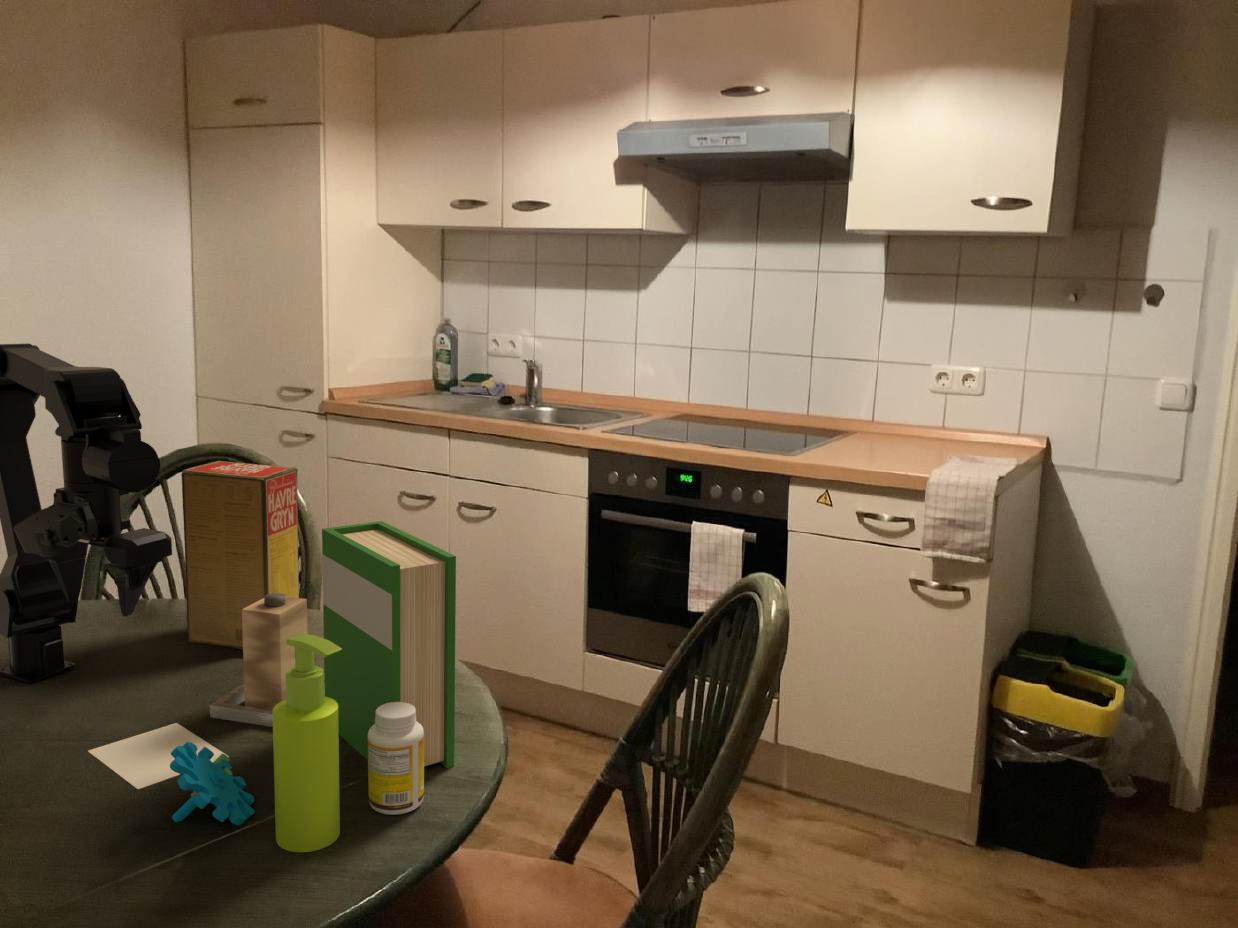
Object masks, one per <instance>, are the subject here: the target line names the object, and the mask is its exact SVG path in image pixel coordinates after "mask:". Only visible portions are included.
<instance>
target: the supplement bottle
mask: <svg viewBox="0 0 1238 928" xmlns="http://www.w3.org/2000/svg"><path fill="white" fill-rule="evenodd" d="M367 772H368V773H367V775H368V776H367V777H368V780H367V781H368V782H367V783H368V803H369V805H370V806H371V809H373V810H374V811H376V812H377V813H380V814H384V815H389V816H390V815H392V816H393V815H396V816H397V815H402V814H407V813H409V812H412V811H414V810H416V809H417V808H418V807H419V806H420V805H421V804H422V803H423V801H424V798H425V766H424V730H423V727H422V726H421V724H420V723H418V722H417V721H416V709H415V707H414V706H413V705H411V704H409V703H405V702H391V703H386V704H383V705H381V706H379V707H378V708H377V709H376V714H375V724H374V725H373V726H372V727H371V728H370V729H369V731H368V760H367Z"/></svg>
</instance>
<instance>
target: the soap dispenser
mask: <svg viewBox="0 0 1238 928" xmlns="http://www.w3.org/2000/svg"><path fill="white" fill-rule="evenodd" d="M286 645H290V646H294V647H295V667H293V668H292V669H290V670H288V671H287V673H286V700H283V701H281V702H280V703H278V704H277V705H276V706H275V707H274V708H273V727H272V742H273V743H272V745H273V746H272V747H273V750H272V751H273V780H274V781H273V782H274V783H273V785H274V813H275V814H274V816H275V817H274V818H275V820H274V823H275V842H276V844H277V845H278V846H279V847H280V848H281V849H283V850H284V851H288V852H292V853H311V852H316V851H318V850H322V849H324V848H327V847H328V846H330V845H333V844H334V843H335V842H336V841H337V840H338V838H339V837H340V833H341V821H340V819H341V815H340V814H341V813H340V812H341V811H340V807H341V806H340V805H341V804H340V803H341V802H340V800H341V799H340V752H339V751H340V748H339V747H340V744H339V743H340V738H339V736H340V735H339V727H338V703H337V702H336V701H335V700H334V699H332V698H329V697H326V696H324V668H322V667H320V666H318V665H315V654H316V655H318V656H319V657H321V658H323V659H324V658H325V657H328V656H331V655H333V654H336V653H338V652H340V651H341V650H342V649H341V648H340V647H339V646H337V645H336V644H334V643H332V642H331V641H329V640H327V639H324V637H322V636H321V637H320V636H318V635H313V634H303V633H301V634H299V635H296V636H293V637H290V638H287V639H286Z"/></svg>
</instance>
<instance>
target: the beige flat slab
mask: <svg viewBox="0 0 1238 928" xmlns="http://www.w3.org/2000/svg"><path fill="white" fill-rule="evenodd" d="M187 742H190V743H193V744H195V745H196V746H197V748H198V750H197V751H196V753H197V755H198V753H199V752H200V751H201V750H202V749H203V748H204V747H206V748H208V749H209V750H211V751H212V752H213V753H214V756H213V757H212V758H211V759H210V760H211V762H214V761H215V760H216V759H217V758H218V757H219V756H220V755H221V754H225V755H226V756H227V757H228V758H230V756H229V755H228V754H226V753H224V752H223V751H221V750H220V749H218V748H217V747H215V746H213V745H212V744H210V743H209V742H207V741H206V740H204V739H203V738H201V737H199V735H197V734H195V733H193V732H192V731H190V730H189V729H187V728H185V727H184V726H183V725H180V724H179V723H178V722H174V723H172V724H168V725H166V726H162V727H160V728H155V729H153V730H150V731H146V732H144V733H140V734H137V735H133V736H131V737H130V736H129V737H127V738H124V739H120V740H118V741H114V742H110V743H108V744H105V745H102V746H99V747H94V748H93V749H89V750H87V752H88V753H89V754H90V755H92V756H93V757H95V758H96V759H97V760H98V761H100V762H101V763H102V764H104V765H105V766H106V767H107V768H109V769H110V770H112V771H113V772H115V773H116V774H117V775H118V776H120V777H121V778H123V780H125V781H126V782H128V783H129V784H130V785H131V786H132V787H134V788H135V789H136V790H140V789H143V788H146V787H149V786H152V785H155V784H157V783H160V782H164V781H166V780H169V779H172V778H175V777H178V776H180V775H181V774H179V773H177V772H174V771H173V770H171V768H170V763H171V762H172V761H173V760H174V759H175V758H174V757H173V756H172V755H171V752H172V751H173V750H174V749H175V748H176V747H177V746H183V745H184V744H186V743H187Z"/></svg>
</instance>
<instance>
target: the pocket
mask: <svg viewBox="0 0 1238 928" xmlns="http://www.w3.org/2000/svg"><path fill="white" fill-rule="evenodd" d="M324 696H325V682H324ZM243 702H245V691H244V682H243V683H241V684H240V685H238V686H237V687H235V688H234V689H232V690H231V691H229V692H227V693H226V694H225V695H223V696H222V697H220V698H218V699H216V701H213V702H212V703H210V704H209V717H210V718H214V719H217V720H218V719H220V720H225V721H226V720H227V721H233V722H237V723H238V722H239V723H244V724H252V725H259V726H266V727H271V728H273V710H267V709H260V708H253V707H247V706H245V705H241V703H243Z"/></svg>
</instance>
